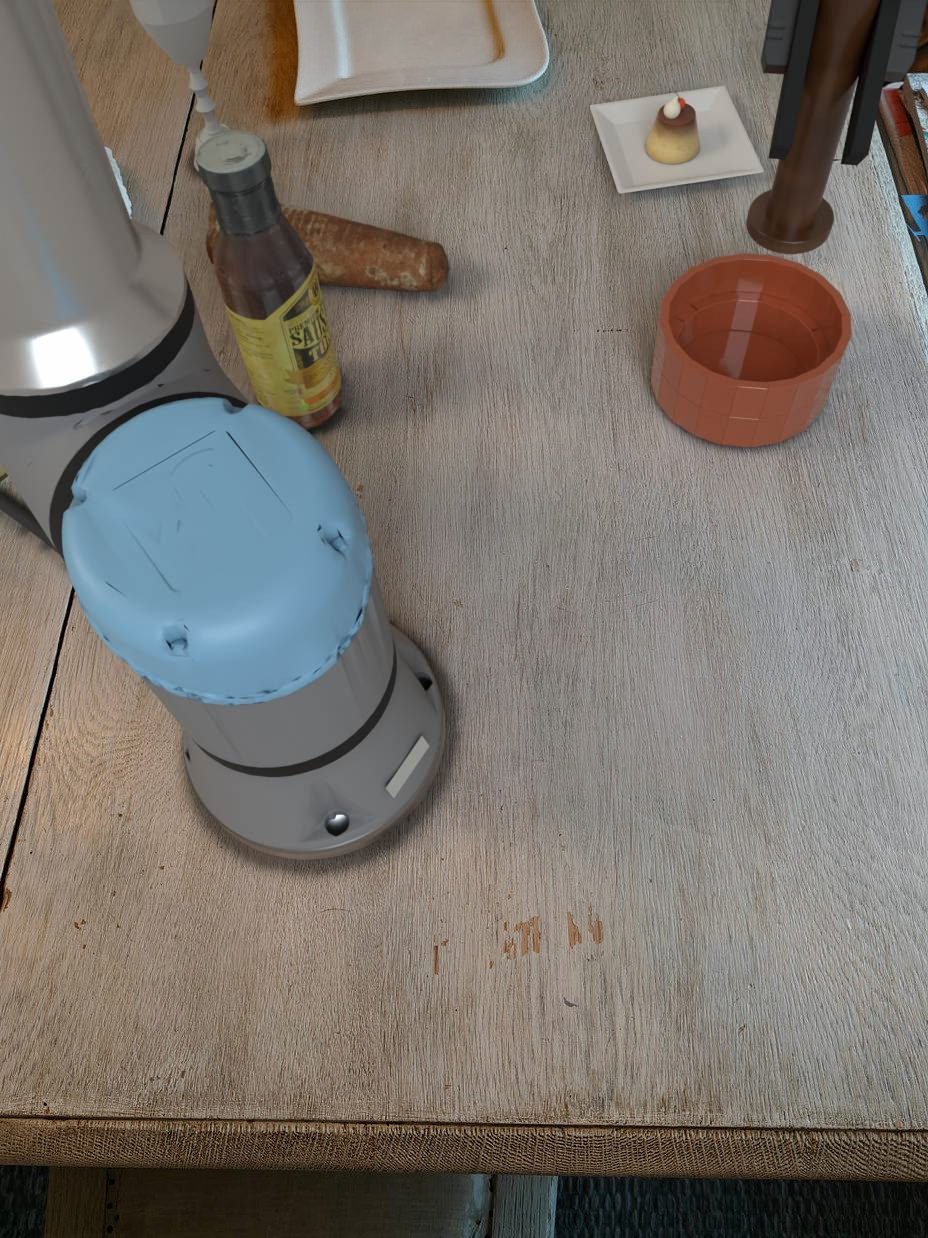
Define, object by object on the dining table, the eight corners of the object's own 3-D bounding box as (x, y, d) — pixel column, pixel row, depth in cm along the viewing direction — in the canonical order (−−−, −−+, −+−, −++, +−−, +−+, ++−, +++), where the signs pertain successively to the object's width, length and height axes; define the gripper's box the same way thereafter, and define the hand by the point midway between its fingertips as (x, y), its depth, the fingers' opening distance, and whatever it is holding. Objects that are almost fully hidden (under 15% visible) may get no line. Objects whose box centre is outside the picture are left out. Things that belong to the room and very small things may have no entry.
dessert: (722, 96, 84) (732, 42, 80) (761, 183, 78) (774, 129, 74) (588, 116, 84) (591, 62, 80) (617, 205, 78) (622, 151, 74)
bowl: (623, 419, 67) (631, 352, 62) (686, 306, 72) (699, 234, 67) (792, 477, 64) (817, 412, 58) (847, 354, 69) (874, 283, 63)
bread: (240, 234, 80) (221, 174, 75) (458, 267, 76) (453, 206, 71) (209, 286, 77) (188, 228, 72) (435, 323, 73) (428, 264, 68)
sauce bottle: (333, 439, 68) (264, 197, 51) (250, 429, 69) (155, 189, 52) (356, 371, 71) (298, 121, 54) (277, 363, 72) (195, 114, 55)
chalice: (201, 194, 83) (123, -31, 67) (169, 155, 86) (87, -69, 70) (275, 160, 84) (216, -67, 68) (241, 123, 87) (177, -103, 71)
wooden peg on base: (733, 241, 51) (820, -164, 35) (762, 190, 53) (856, -217, 37) (815, 264, 50) (942, -146, 34) (841, 211, 51) (974, -201, 36)
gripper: (1129, -446, 39) (975, 184, 46) (734, -438, 41) (645, 157, 48) (1231, -624, 32) (1030, 154, 38) (747, -600, 34) (640, 125, 41)
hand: (816, 155), depth 43 cm, fingers closed on wooden peg on base, 3 cm apart
